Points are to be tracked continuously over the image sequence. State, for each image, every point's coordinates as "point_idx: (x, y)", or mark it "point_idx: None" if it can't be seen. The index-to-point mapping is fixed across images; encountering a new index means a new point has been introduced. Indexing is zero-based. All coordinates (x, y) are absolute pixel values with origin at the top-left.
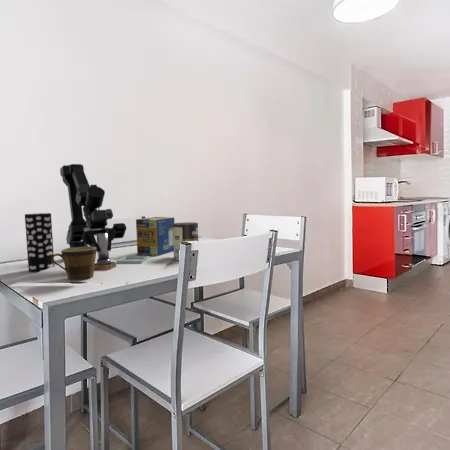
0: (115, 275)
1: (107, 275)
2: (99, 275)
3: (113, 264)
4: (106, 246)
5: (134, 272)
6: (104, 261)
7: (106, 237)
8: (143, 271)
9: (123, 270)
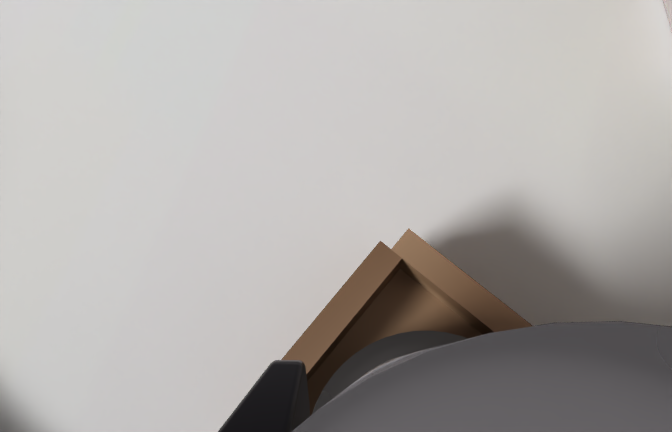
0: (381, 60)
1: (458, 116)
2: (541, 177)
3: (292, 348)
4: (389, 361)
5: (152, 78)
6: (443, 332)
7: (363, 378)
8: (54, 66)
9: (201, 276)
